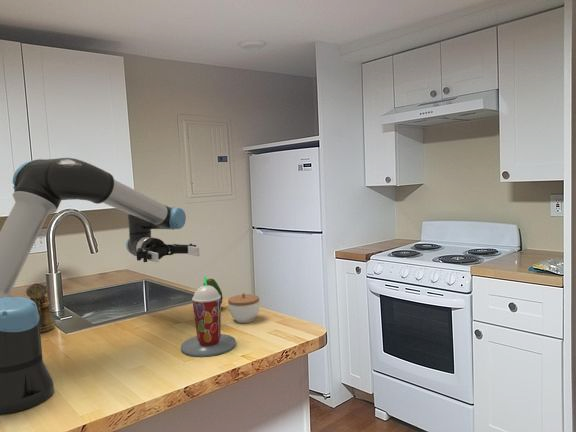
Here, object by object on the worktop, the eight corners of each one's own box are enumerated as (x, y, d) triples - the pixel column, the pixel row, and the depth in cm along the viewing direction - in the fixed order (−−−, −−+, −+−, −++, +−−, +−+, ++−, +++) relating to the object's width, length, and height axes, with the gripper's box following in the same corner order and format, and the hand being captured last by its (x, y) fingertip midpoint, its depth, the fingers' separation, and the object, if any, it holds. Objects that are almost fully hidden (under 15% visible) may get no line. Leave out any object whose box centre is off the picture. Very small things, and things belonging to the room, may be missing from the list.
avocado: (198, 309, 177) (196, 278, 176) (217, 305, 182) (215, 275, 180) (208, 314, 171) (206, 282, 169) (227, 309, 175) (225, 278, 174)
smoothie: (227, 338, 142) (224, 273, 140) (216, 348, 134) (212, 279, 132) (202, 337, 144) (198, 273, 142) (190, 347, 136) (185, 279, 134)
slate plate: (236, 353, 132) (236, 350, 132) (178, 359, 129) (178, 356, 129) (234, 334, 148) (234, 331, 147) (183, 339, 145) (182, 336, 145)
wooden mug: (25, 340, 152) (19, 285, 150) (26, 328, 164) (21, 278, 162) (55, 334, 156) (50, 281, 154) (54, 323, 168) (49, 274, 166)
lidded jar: (230, 326, 156) (228, 299, 155) (228, 317, 166) (226, 291, 165) (262, 323, 158) (260, 295, 157) (258, 314, 168) (256, 288, 167)
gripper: (185, 254, 169) (214, 261, 152) (115, 264, 153) (139, 272, 137) (184, 234, 168) (213, 238, 152) (113, 241, 153) (137, 247, 136)
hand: (178, 254), depth 144 cm, fingers open, 13 cm apart
